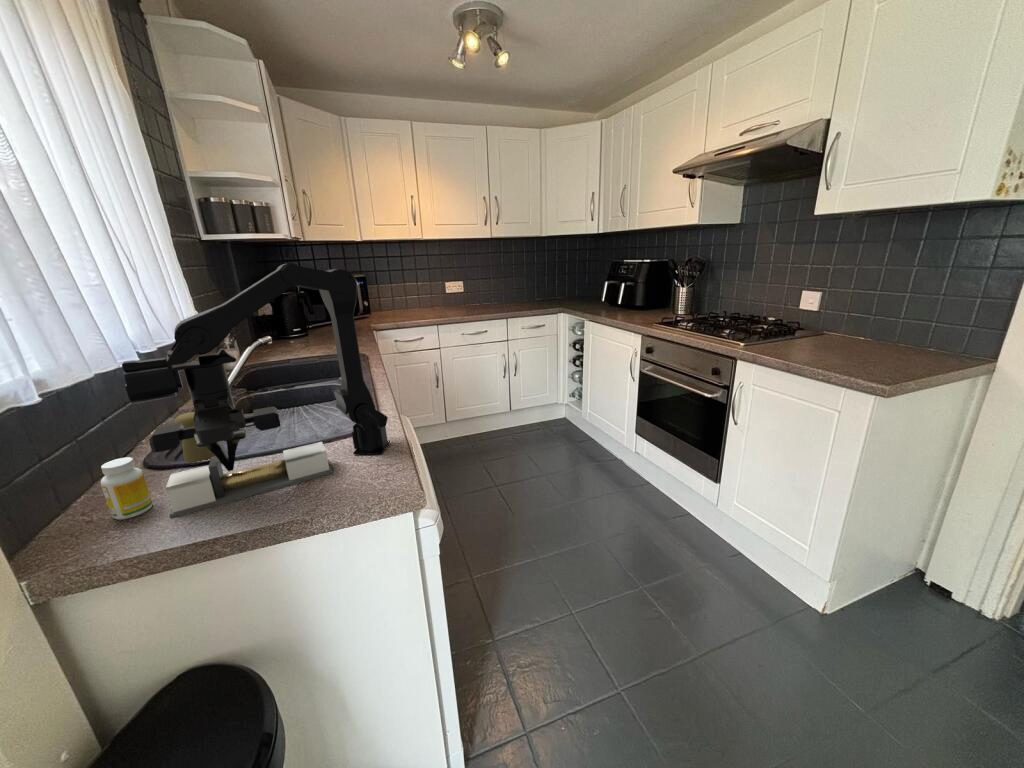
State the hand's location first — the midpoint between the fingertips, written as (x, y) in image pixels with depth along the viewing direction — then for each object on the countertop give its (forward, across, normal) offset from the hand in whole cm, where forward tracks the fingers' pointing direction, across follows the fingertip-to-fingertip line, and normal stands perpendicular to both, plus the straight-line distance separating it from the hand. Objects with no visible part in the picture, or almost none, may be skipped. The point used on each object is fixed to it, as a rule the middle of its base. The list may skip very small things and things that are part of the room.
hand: (231, 470), depth 75 cm
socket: (+4, -6, 0) cm, 7 cm away
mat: (+5, +4, 0) cm, 6 cm away
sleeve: (+4, +12, 0) cm, 13 cm away
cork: (+5, -7, +22) cm, 24 cm away
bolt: (+4, +1, 0) cm, 4 cm away
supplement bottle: (+5, -15, +3) cm, 16 cm away
